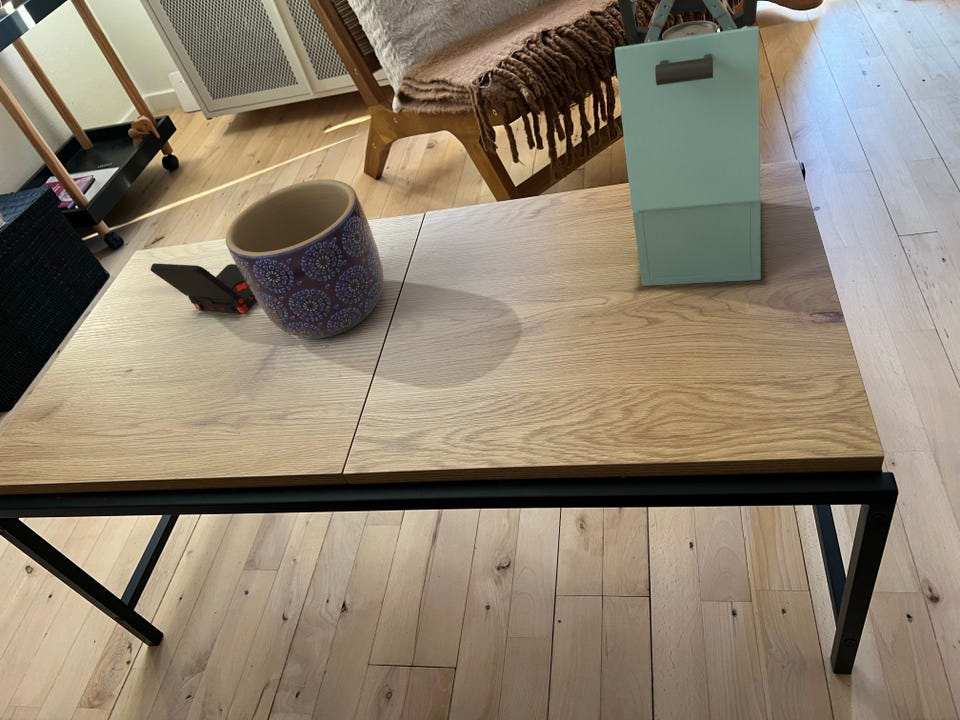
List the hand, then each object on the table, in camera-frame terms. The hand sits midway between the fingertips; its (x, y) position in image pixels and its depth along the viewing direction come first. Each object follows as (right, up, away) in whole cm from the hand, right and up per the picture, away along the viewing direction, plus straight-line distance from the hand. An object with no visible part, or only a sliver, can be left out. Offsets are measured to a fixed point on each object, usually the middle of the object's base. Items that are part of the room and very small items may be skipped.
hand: (692, 71), depth 83 cm
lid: (-2, -7, -6) cm, 9 cm away
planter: (-42, -25, +19) cm, 52 cm away
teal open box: (+4, -17, +11) cm, 20 cm away
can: (+2, -6, +5) cm, 8 cm away
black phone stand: (-58, -22, +27) cm, 68 cm away
